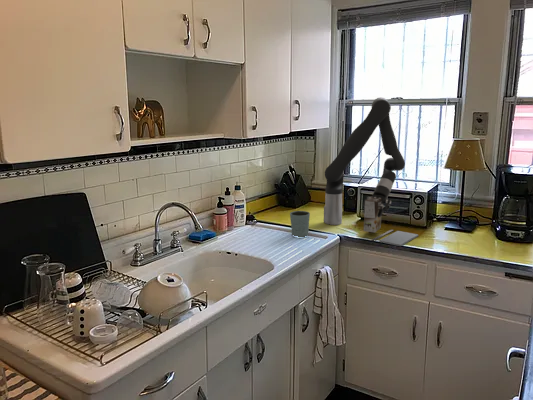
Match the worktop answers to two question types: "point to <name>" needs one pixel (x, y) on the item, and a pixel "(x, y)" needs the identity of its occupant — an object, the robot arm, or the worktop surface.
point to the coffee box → (372, 215)
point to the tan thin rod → (382, 235)
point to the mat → (399, 238)
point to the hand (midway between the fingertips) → (371, 215)
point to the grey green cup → (300, 223)
